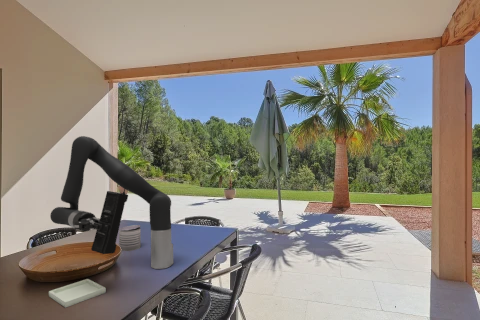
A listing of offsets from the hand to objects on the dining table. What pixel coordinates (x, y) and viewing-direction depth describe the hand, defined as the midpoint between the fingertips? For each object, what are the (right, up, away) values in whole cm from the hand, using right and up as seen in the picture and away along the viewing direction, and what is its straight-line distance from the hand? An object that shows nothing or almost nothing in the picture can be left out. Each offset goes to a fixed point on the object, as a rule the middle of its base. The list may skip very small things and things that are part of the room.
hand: (103, 226), depth 111 cm
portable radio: (-1, -10, +1) cm, 10 cm away
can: (-11, -25, +56) cm, 62 cm away
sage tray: (-9, -25, -1) cm, 26 cm away
